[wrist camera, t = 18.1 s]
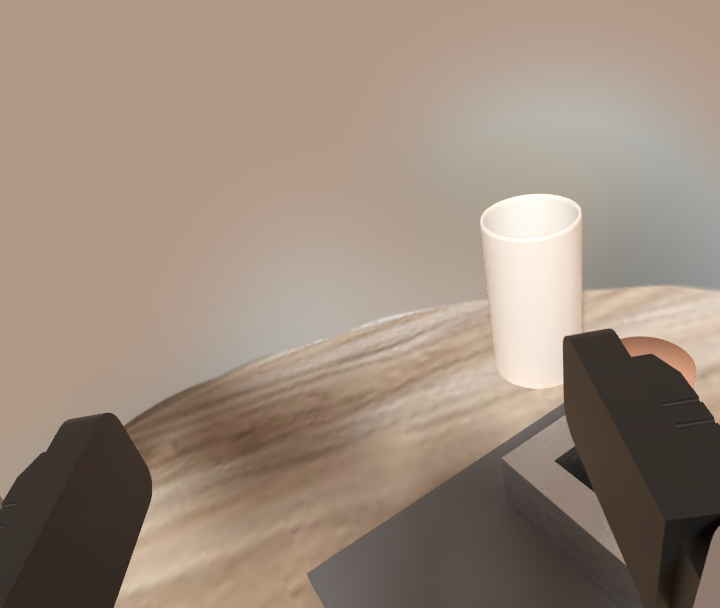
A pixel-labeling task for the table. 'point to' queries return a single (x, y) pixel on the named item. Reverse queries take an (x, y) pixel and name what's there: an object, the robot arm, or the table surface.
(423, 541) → the mat
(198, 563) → the table surface
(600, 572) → the socket
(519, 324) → the cup
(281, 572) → the table surface
